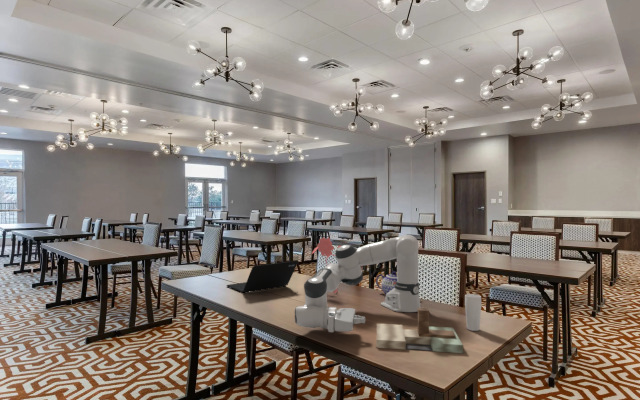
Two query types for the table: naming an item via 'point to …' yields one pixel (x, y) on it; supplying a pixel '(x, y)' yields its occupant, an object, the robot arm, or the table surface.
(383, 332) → the board
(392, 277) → the teapot
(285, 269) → the laptop
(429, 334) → the push block
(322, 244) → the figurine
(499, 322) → the table surface
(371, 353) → the table surface
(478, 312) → the drinking glass
